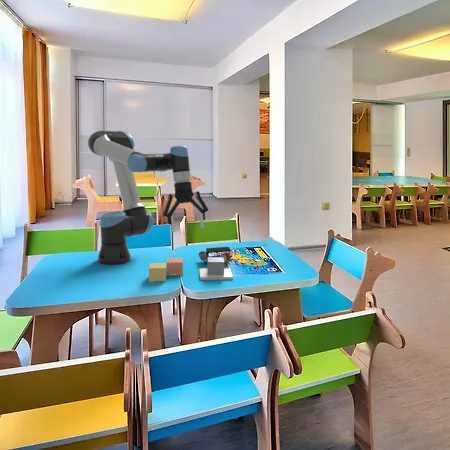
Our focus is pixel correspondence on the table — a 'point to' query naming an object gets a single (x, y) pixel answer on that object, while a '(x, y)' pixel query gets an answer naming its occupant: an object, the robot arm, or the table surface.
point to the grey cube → (215, 265)
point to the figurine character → (204, 255)
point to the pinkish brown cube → (175, 266)
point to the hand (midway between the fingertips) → (187, 229)
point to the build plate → (205, 275)
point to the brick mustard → (157, 272)
